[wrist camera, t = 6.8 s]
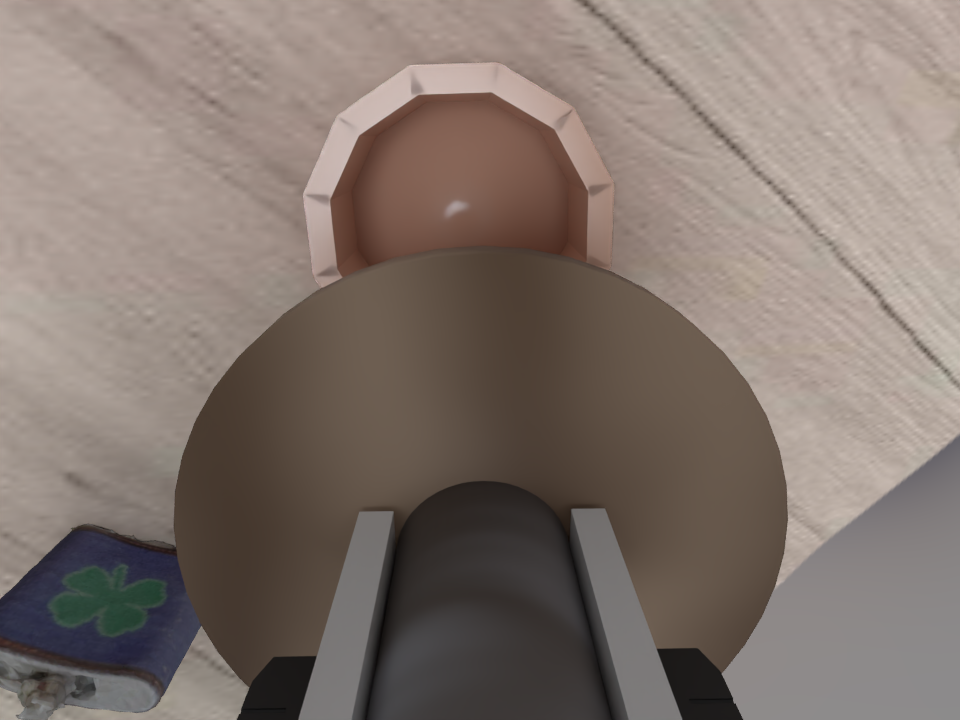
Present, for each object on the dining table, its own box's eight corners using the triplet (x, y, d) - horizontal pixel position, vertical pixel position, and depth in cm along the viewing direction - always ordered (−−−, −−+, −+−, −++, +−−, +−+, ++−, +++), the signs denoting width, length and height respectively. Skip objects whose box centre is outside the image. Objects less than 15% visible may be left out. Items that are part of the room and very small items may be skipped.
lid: (234, 744, 18) (15, 1308, 9) (143, 247, 13) (-483, 457, 4) (727, 736, 18) (962, 1282, 9) (814, 243, 13) (1447, 438, 5)
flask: (233, 558, 37) (143, 718, 26) (223, 597, 37) (133, 767, 27) (71, 516, 35) (-87, 667, 25) (65, 557, 36) (-90, 718, 26)
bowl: (349, 336, 32) (325, 379, 26) (323, 83, 28) (287, 68, 22) (582, 328, 32) (607, 368, 27) (588, 74, 28) (619, 58, 23)
